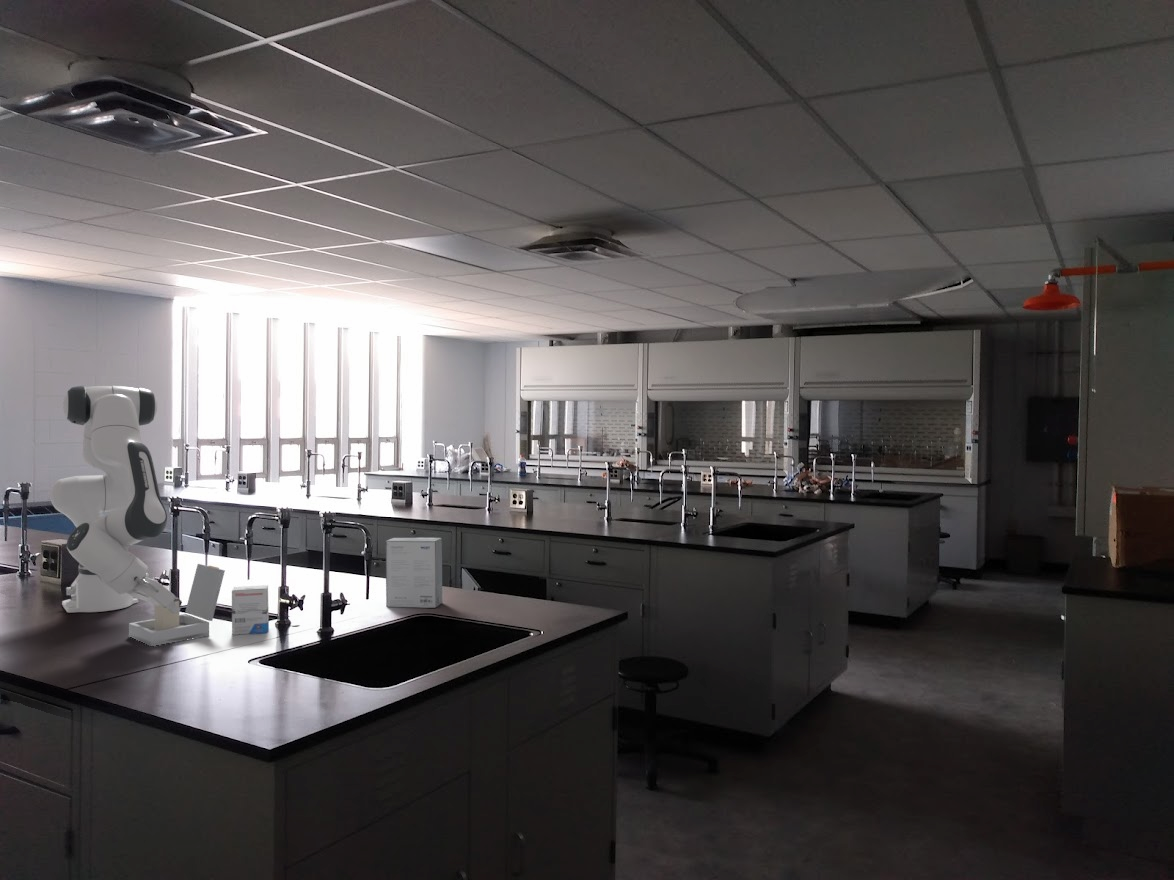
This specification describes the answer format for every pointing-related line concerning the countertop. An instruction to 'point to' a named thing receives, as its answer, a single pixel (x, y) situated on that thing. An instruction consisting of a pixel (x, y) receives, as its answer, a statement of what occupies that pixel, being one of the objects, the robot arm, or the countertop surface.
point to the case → (169, 631)
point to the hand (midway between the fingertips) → (169, 608)
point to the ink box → (250, 610)
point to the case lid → (205, 591)
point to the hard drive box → (414, 572)
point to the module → (166, 617)
